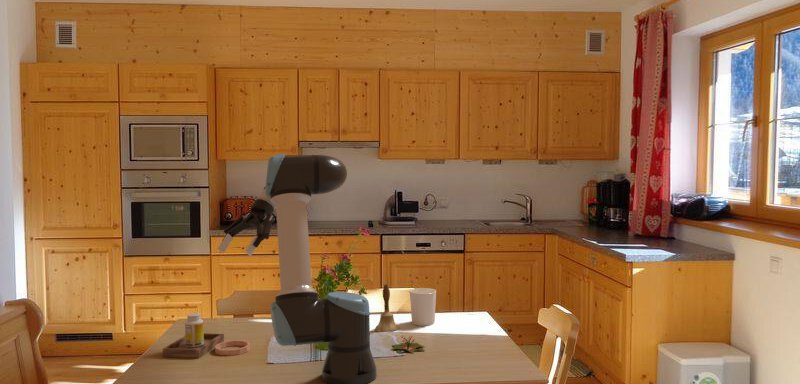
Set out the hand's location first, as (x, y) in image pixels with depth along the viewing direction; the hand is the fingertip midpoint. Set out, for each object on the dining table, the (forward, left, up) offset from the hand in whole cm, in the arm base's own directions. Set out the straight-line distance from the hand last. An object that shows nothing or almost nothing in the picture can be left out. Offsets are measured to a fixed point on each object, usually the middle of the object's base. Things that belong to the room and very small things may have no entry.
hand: (233, 252), depth 210 cm
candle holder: (+27, -61, -30) cm, 73 cm away
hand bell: (+18, -49, -30) cm, 60 cm away
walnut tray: (-12, +9, -30) cm, 33 cm away
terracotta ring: (-12, -4, -30) cm, 32 cm away
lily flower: (-4, -60, -30) cm, 67 cm away
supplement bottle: (-12, +9, -29) cm, 32 cm away
